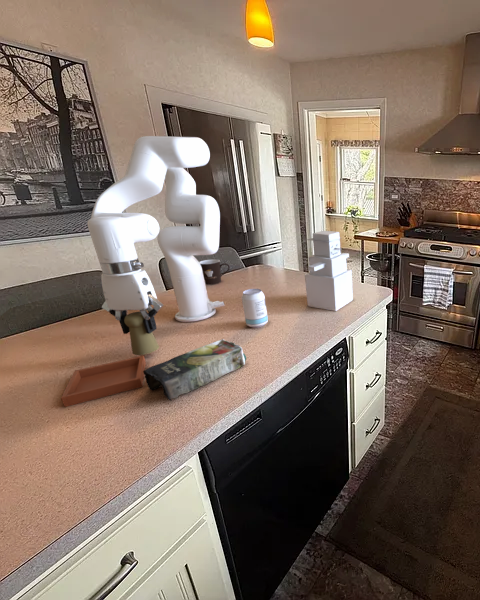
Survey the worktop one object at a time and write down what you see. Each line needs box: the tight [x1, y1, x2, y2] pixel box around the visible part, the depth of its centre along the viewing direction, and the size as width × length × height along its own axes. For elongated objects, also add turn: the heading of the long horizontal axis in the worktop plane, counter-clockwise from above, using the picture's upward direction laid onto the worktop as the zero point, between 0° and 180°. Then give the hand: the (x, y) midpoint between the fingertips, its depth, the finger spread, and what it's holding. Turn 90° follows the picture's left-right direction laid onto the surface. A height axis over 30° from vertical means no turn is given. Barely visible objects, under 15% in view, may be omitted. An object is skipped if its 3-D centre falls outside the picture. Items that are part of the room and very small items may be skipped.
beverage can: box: [241, 288, 269, 329], centre depth 108 cm, size 7×7×12 cm
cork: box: [124, 311, 160, 356], centre depth 89 cm, size 6×6×11 cm
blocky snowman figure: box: [304, 230, 354, 312], centre depth 125 cm, size 13×24×28 cm, turn 158°
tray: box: [60, 355, 147, 408], centre depth 79 cm, size 14×13×2 cm
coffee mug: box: [198, 259, 231, 285], centre depth 151 cm, size 12×9×10 cm
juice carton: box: [143, 338, 247, 401], centre depth 81 cm, size 20×10×6 cm, turn 149°
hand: (140, 330), depth 88 cm, fingers closed on cork, 5 cm apart
